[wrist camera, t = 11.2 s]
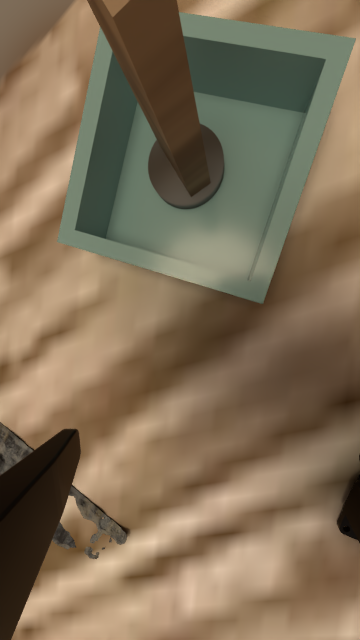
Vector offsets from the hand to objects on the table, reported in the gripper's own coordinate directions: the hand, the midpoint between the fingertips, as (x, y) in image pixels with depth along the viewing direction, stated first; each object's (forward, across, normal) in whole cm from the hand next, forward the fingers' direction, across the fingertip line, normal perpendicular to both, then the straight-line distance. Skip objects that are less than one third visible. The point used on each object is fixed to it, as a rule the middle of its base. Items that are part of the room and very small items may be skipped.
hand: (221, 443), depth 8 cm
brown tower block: (+14, +1, -10) cm, 17 cm away
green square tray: (+14, 0, -10) cm, 17 cm away
